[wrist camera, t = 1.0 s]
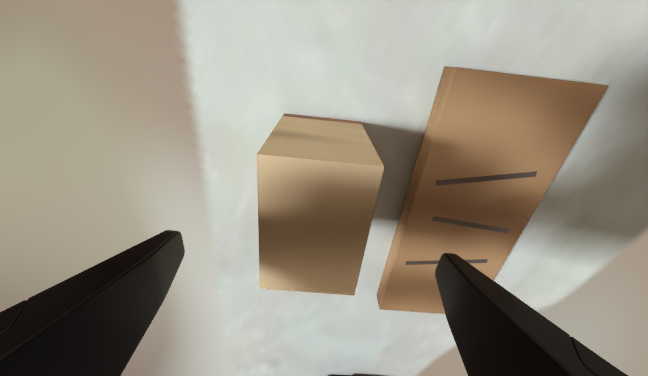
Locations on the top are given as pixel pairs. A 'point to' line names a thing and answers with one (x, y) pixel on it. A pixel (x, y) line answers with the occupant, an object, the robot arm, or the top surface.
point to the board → (480, 175)
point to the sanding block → (315, 204)
